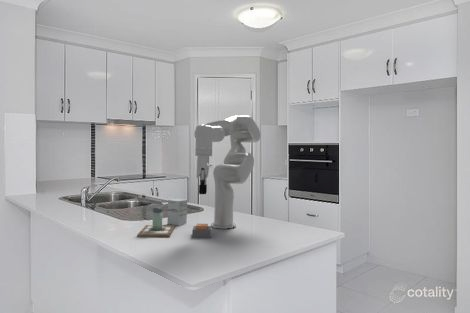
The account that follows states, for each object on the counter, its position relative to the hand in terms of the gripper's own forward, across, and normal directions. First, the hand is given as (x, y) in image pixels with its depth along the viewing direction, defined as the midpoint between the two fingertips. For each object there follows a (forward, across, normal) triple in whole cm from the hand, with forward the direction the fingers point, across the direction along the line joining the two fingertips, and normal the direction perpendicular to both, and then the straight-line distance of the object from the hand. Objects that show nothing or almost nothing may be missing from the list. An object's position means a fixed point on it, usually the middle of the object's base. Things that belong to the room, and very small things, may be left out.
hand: (202, 193), depth 163 cm
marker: (+18, -6, -21) cm, 28 cm away
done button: (+17, 0, 0) cm, 17 cm away
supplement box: (+20, -25, -14) cm, 35 cm away
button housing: (+19, 0, 0) cm, 19 cm away
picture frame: (+19, -6, -21) cm, 29 cm away
